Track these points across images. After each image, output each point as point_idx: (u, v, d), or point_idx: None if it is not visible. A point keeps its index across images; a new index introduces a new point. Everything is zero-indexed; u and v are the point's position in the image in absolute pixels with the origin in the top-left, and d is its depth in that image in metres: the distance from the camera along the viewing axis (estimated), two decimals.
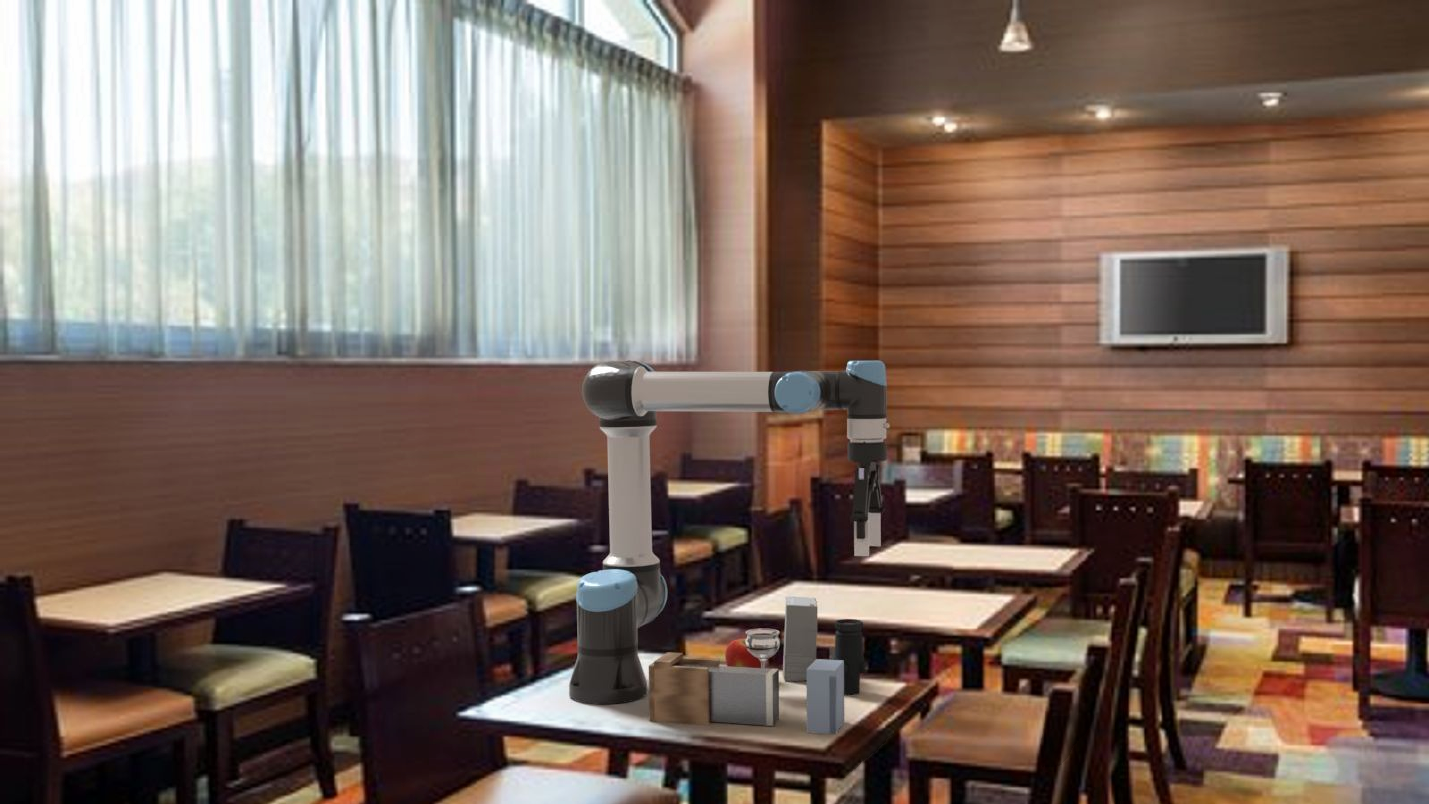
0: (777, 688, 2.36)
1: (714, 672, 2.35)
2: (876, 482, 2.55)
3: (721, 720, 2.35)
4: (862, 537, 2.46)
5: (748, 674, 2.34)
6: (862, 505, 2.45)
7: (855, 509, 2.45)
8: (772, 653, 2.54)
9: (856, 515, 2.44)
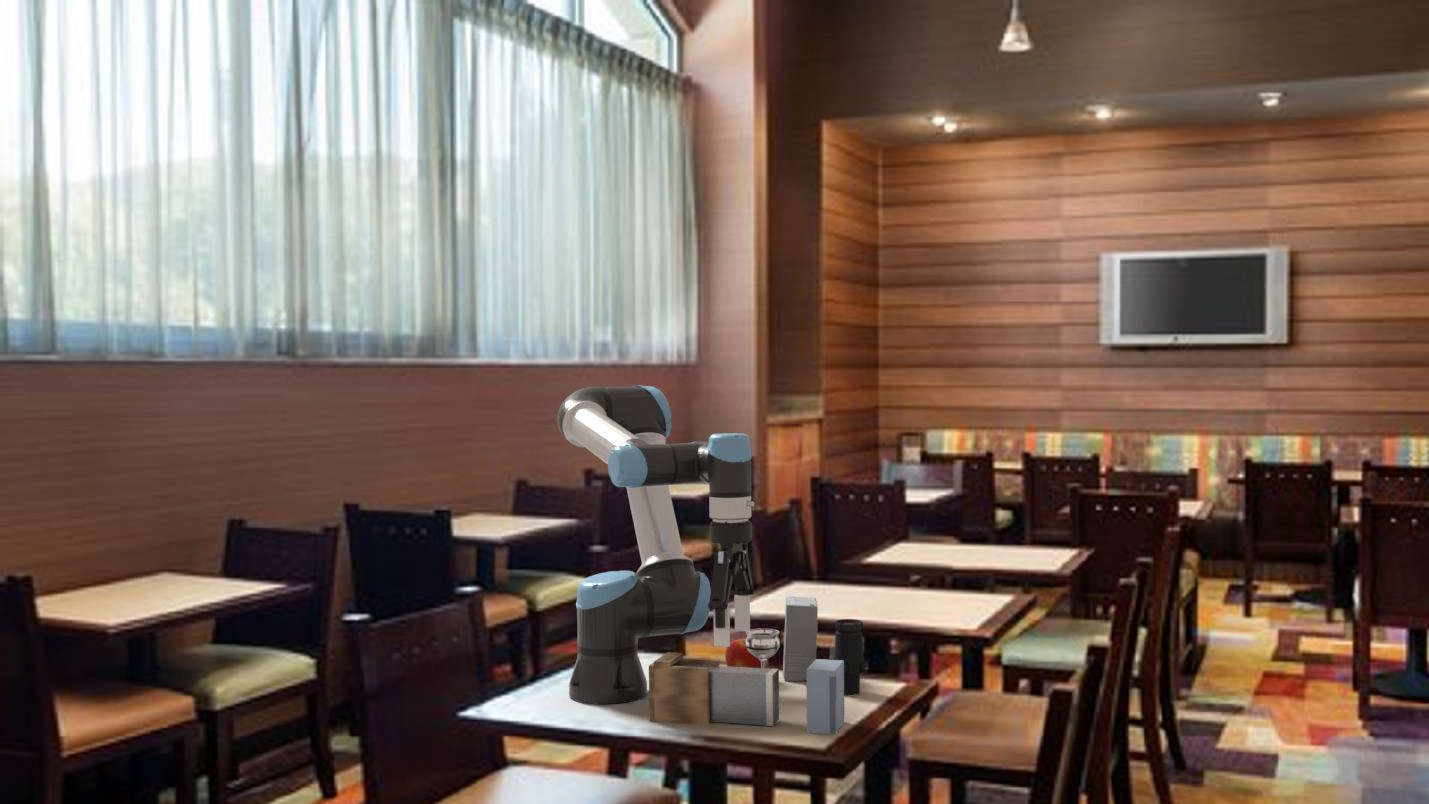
0: (777, 688, 2.36)
1: (714, 672, 2.35)
2: (742, 564, 2.38)
3: (721, 720, 2.35)
4: (721, 626, 2.28)
5: (748, 674, 2.34)
6: (720, 592, 2.27)
7: (713, 596, 2.27)
8: (772, 653, 2.54)
9: (713, 603, 2.27)
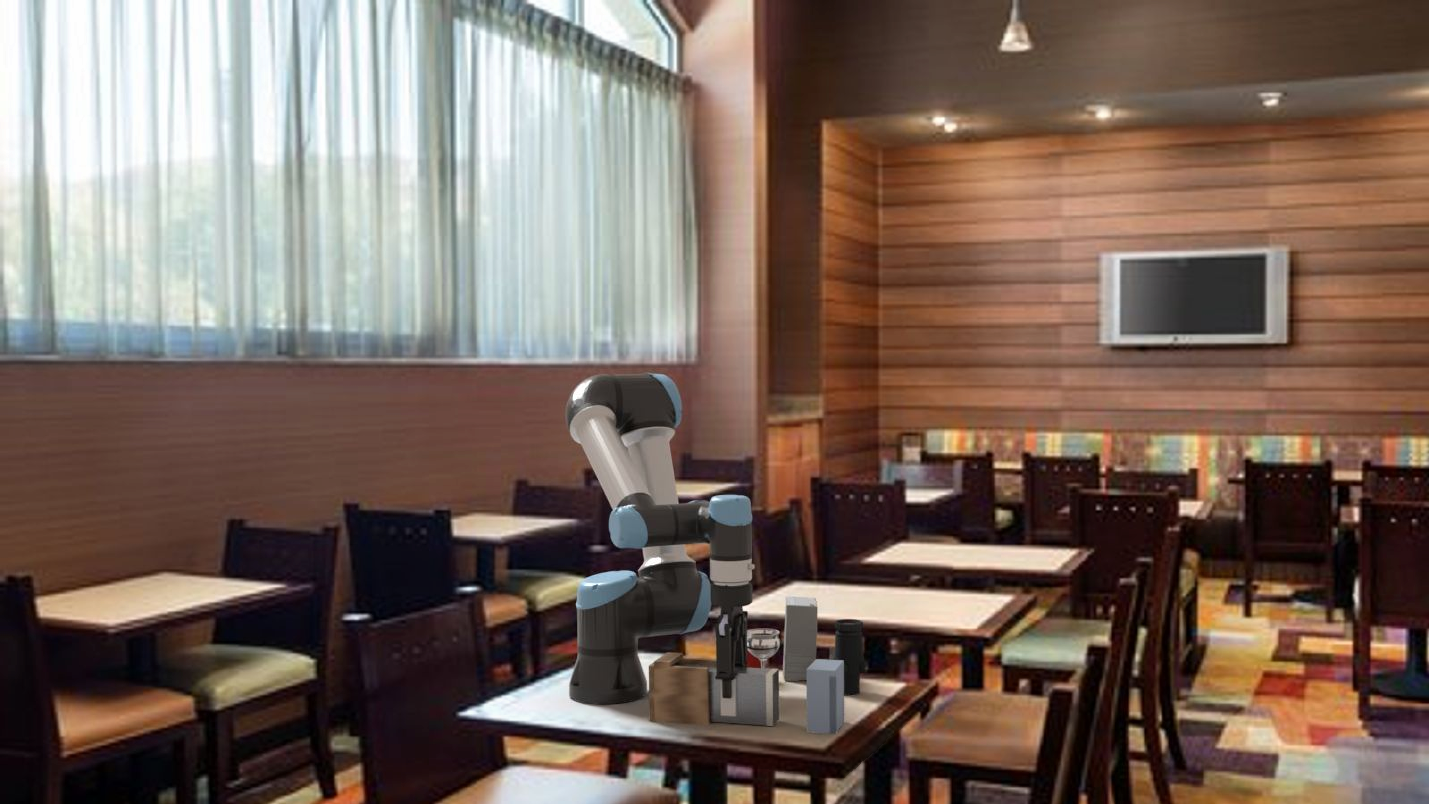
0: (777, 688, 2.36)
1: (714, 672, 2.35)
2: (741, 627, 2.37)
3: (721, 720, 2.35)
4: (728, 697, 2.33)
5: (748, 674, 2.34)
6: (726, 665, 2.31)
7: (719, 669, 2.31)
8: (772, 653, 2.54)
9: (721, 676, 2.31)
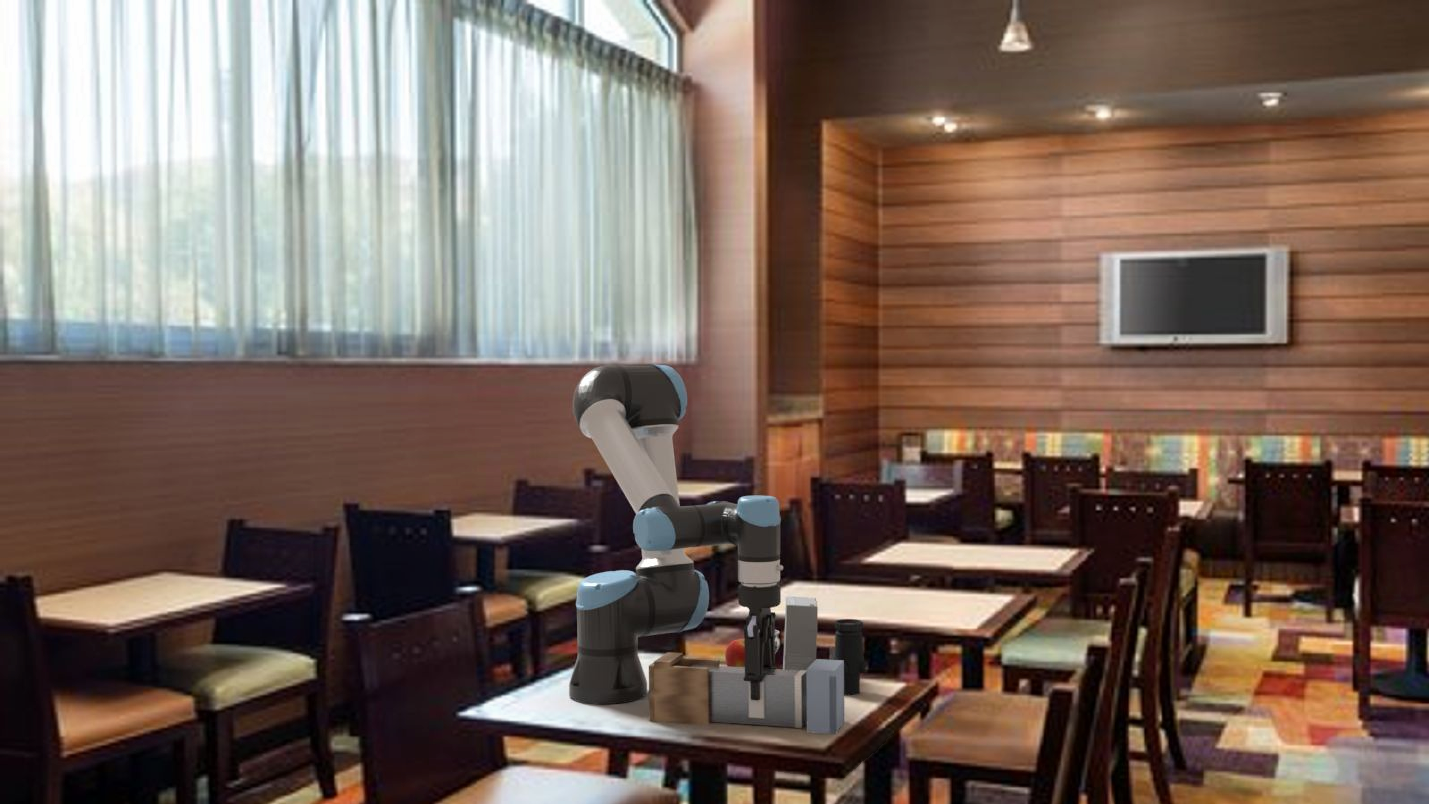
0: (805, 690, 2.34)
1: (742, 674, 2.34)
2: (769, 629, 2.36)
3: (749, 722, 2.34)
4: (756, 698, 2.31)
5: (776, 676, 2.32)
6: (754, 667, 2.29)
7: (747, 671, 2.30)
8: None
9: (749, 678, 2.30)
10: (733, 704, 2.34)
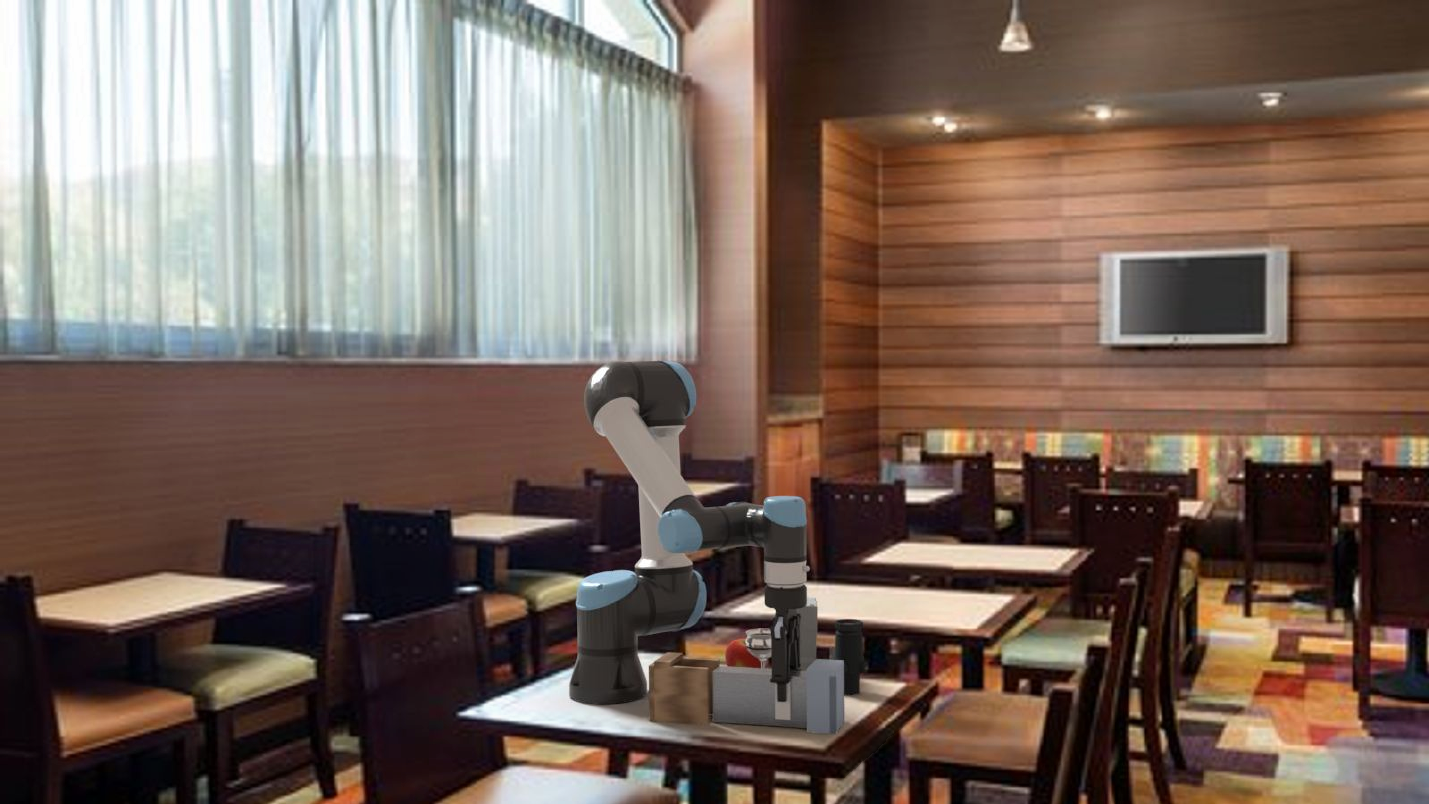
0: None
1: (768, 675, 2.33)
2: (795, 630, 2.34)
3: (775, 724, 2.32)
4: (783, 700, 2.30)
5: (803, 677, 2.31)
6: (781, 668, 2.28)
7: (774, 673, 2.28)
8: None
9: (776, 679, 2.28)
10: (759, 706, 2.33)
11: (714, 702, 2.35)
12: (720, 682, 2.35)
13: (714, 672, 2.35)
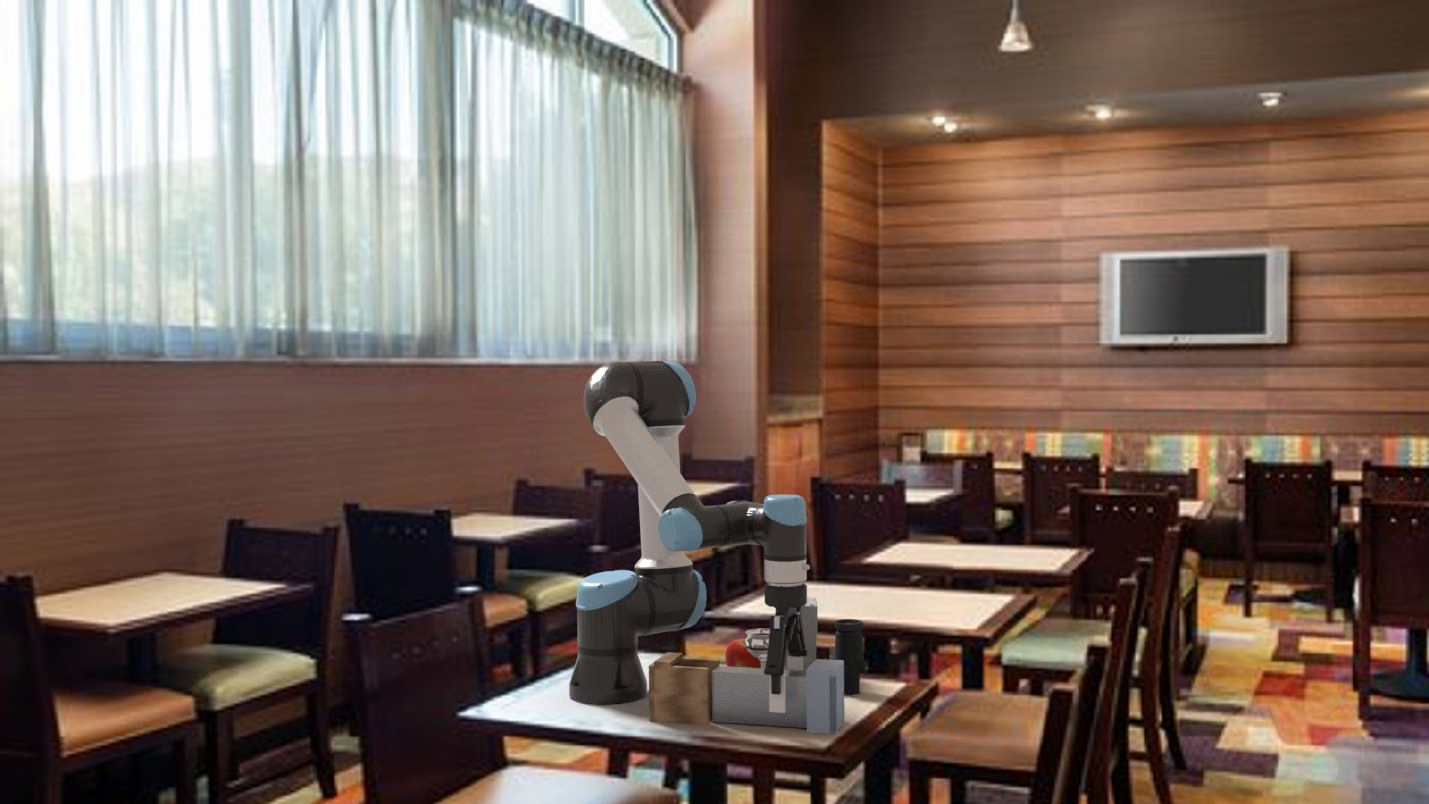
0: None
1: (768, 675, 2.33)
2: (796, 627, 2.35)
3: (775, 724, 2.32)
4: (777, 692, 2.26)
5: (802, 677, 2.31)
6: (777, 658, 2.25)
7: (769, 663, 2.25)
8: None
9: (770, 670, 2.24)
10: (758, 706, 2.33)
11: (713, 702, 2.35)
12: (720, 682, 2.35)
13: (713, 672, 2.35)
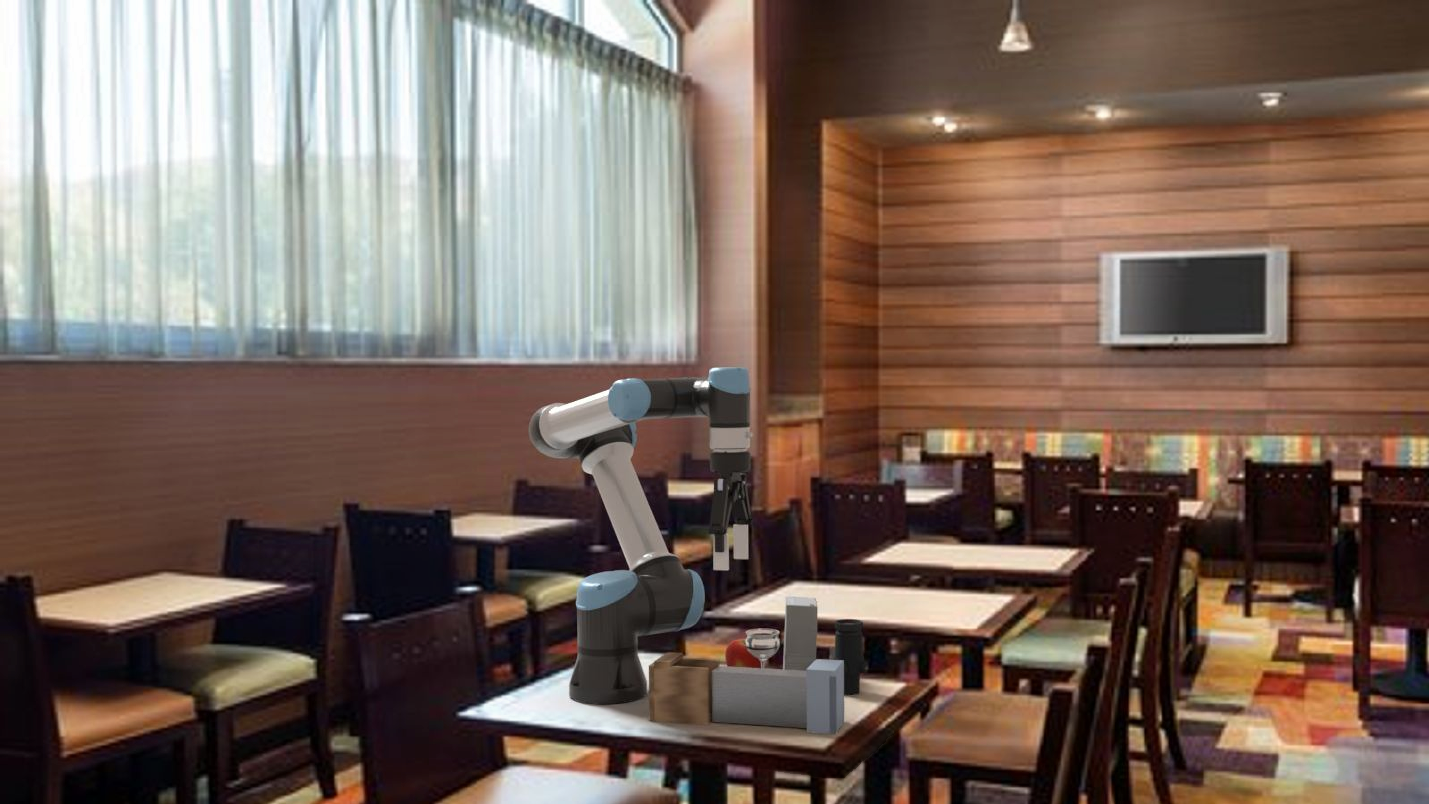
0: None
1: (768, 675, 2.33)
2: (741, 493, 2.47)
3: (775, 724, 2.32)
4: (720, 550, 2.37)
5: (802, 677, 2.31)
6: (720, 517, 2.36)
7: (712, 521, 2.36)
8: (772, 653, 2.54)
9: (713, 528, 2.36)
10: (758, 706, 2.33)
11: (713, 702, 2.35)
12: (720, 682, 2.35)
13: (713, 672, 2.35)
